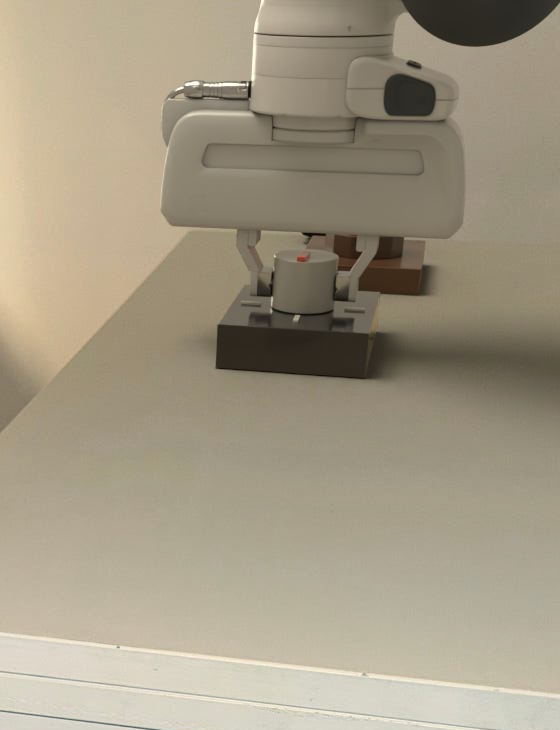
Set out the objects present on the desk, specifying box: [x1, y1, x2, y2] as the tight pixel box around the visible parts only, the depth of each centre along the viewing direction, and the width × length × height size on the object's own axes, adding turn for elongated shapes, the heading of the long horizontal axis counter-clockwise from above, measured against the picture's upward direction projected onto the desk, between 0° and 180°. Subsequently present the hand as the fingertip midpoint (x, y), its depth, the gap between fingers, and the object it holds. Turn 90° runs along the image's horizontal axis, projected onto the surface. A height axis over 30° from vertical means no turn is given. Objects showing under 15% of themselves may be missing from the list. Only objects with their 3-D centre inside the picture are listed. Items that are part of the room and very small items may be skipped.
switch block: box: [304, 234, 427, 297], centre depth 112 cm, size 12×10×4 cm
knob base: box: [215, 284, 381, 379], centre depth 92 cm, size 12×10×3 cm
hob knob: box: [271, 248, 339, 314], centre depth 90 cm, size 4×4×4 cm
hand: (303, 297), depth 91 cm, fingers closed on hob knob, 4 cm apart
